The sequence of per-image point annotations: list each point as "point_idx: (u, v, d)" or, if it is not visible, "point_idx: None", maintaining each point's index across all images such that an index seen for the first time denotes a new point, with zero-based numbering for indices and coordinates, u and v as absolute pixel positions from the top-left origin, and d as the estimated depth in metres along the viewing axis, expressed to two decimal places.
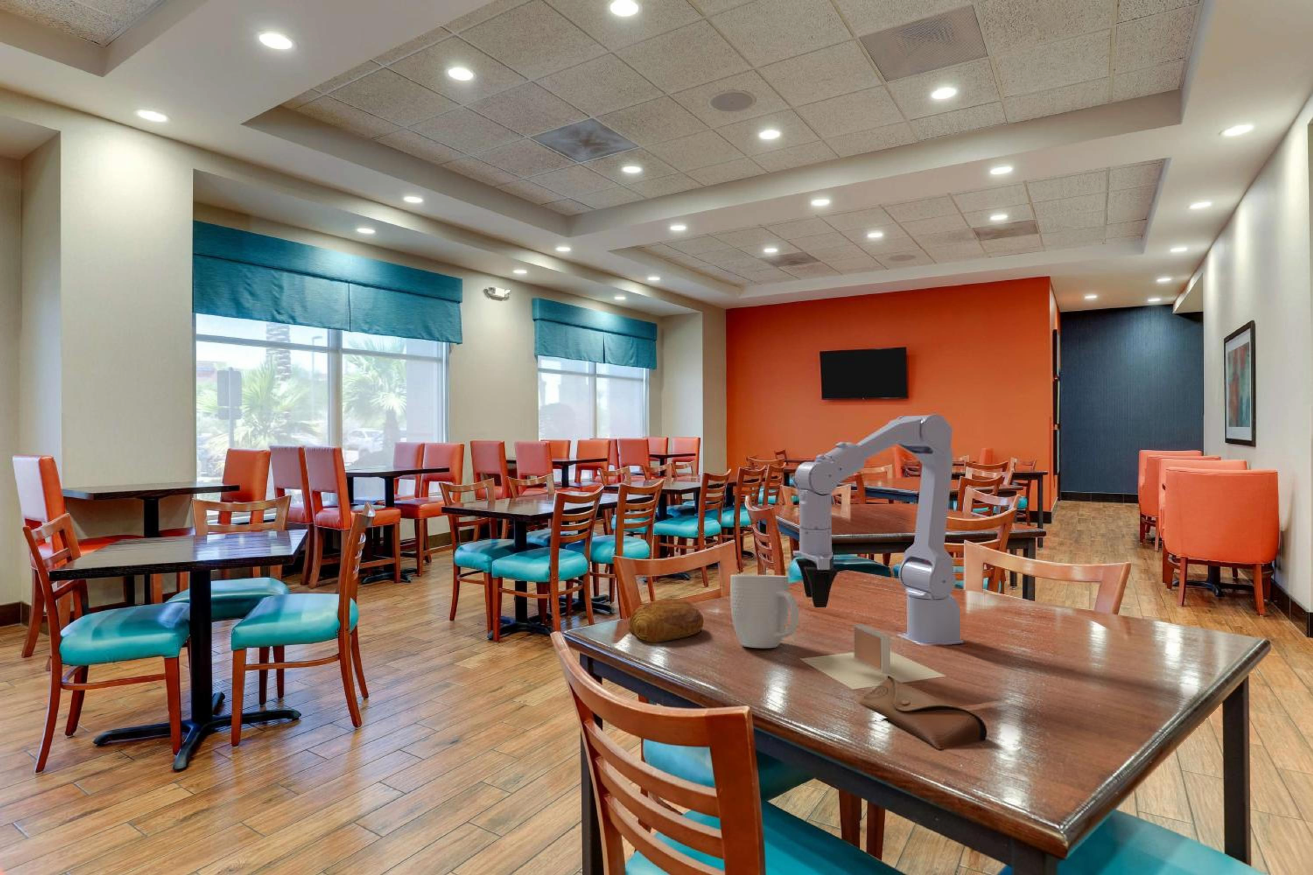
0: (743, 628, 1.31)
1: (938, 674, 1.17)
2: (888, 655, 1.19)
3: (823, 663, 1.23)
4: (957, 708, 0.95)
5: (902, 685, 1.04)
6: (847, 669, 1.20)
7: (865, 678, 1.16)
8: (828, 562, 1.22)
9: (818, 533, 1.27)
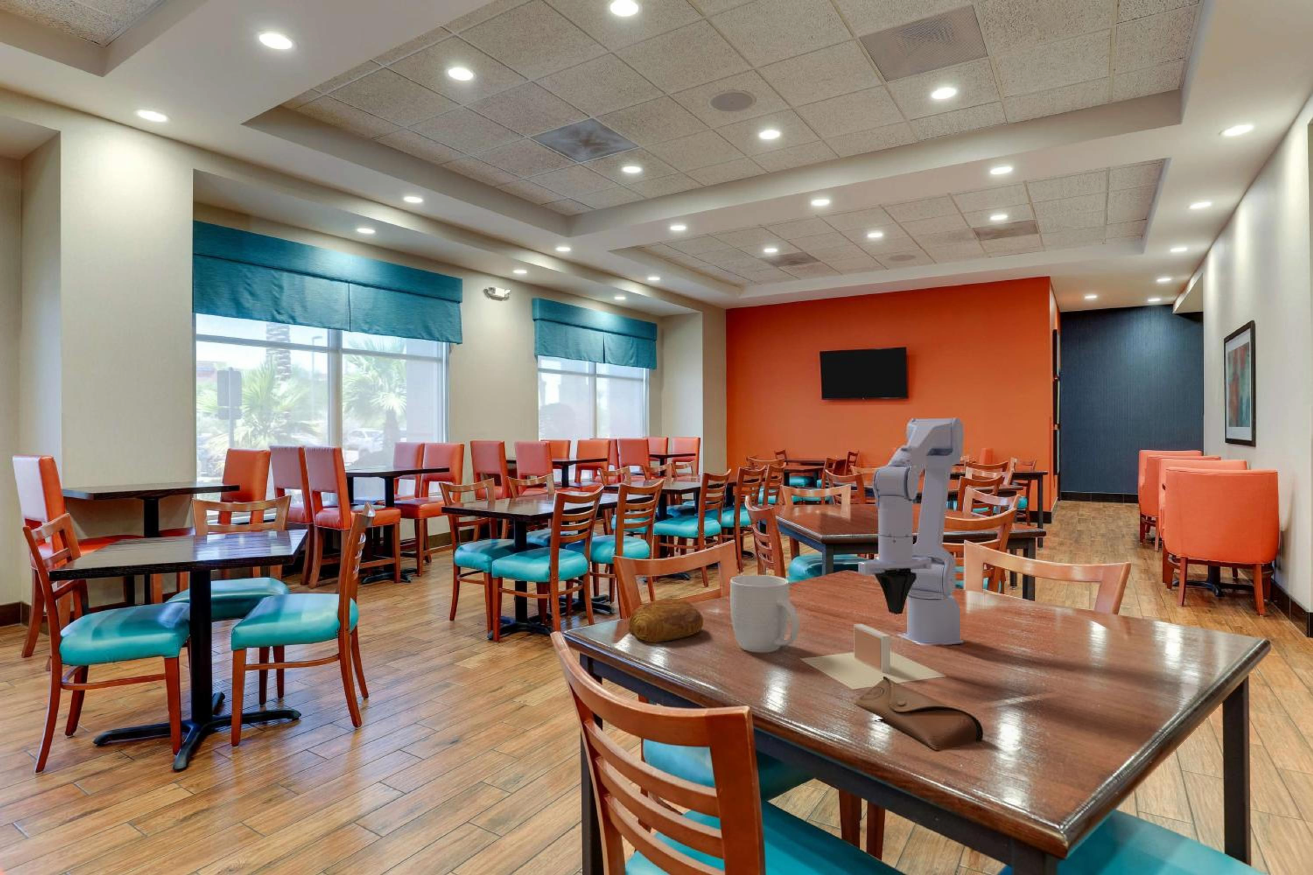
0: (743, 636, 1.30)
1: (938, 674, 1.17)
2: (888, 655, 1.19)
3: (823, 663, 1.23)
4: (953, 709, 0.95)
5: (898, 686, 1.04)
6: (847, 669, 1.20)
7: (865, 678, 1.16)
8: (865, 567, 1.20)
9: (882, 539, 1.23)
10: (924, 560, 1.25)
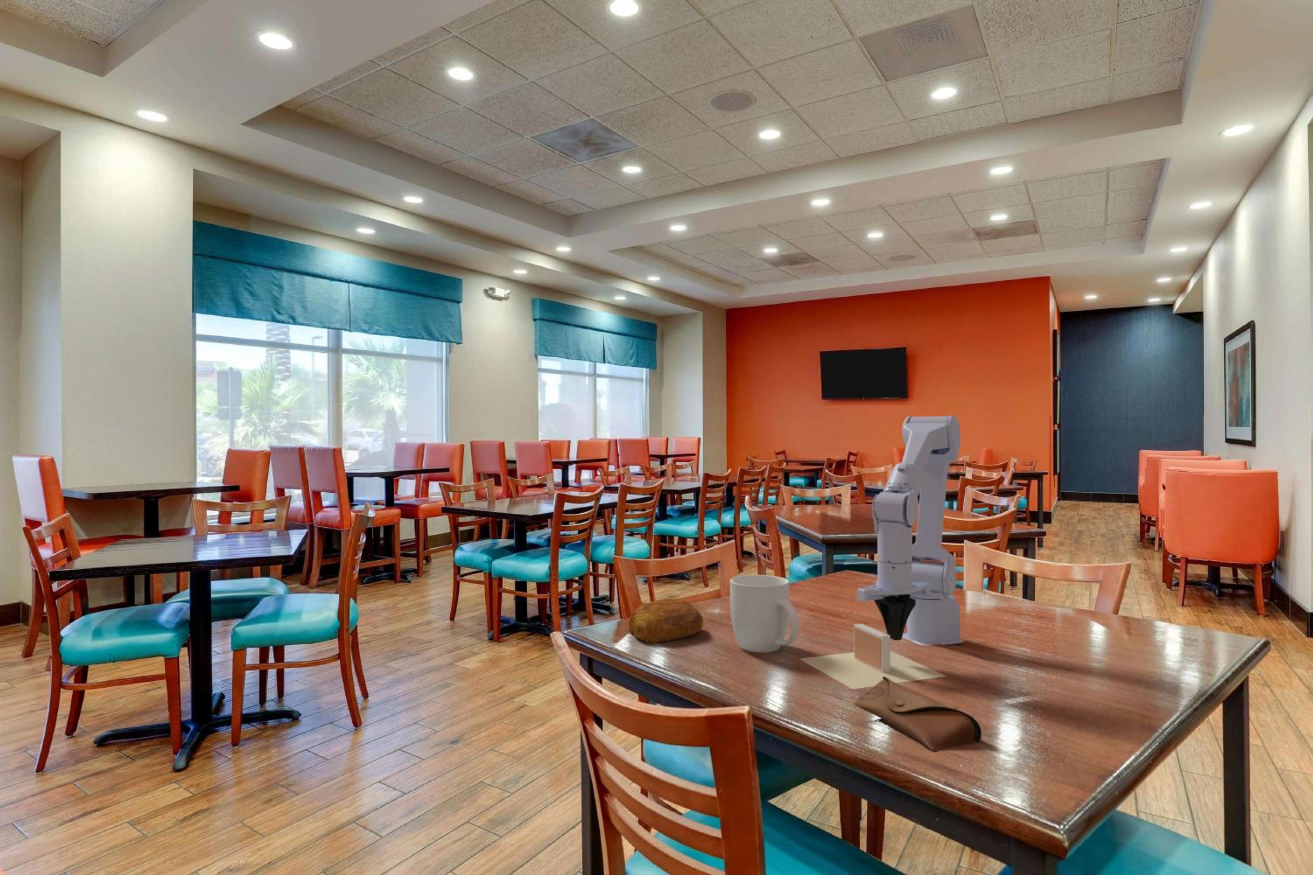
0: (743, 636, 1.30)
1: (938, 674, 1.17)
2: (888, 655, 1.19)
3: (823, 663, 1.23)
4: (951, 709, 0.95)
5: (897, 686, 1.04)
6: (847, 669, 1.20)
7: (865, 678, 1.16)
8: (864, 594, 1.20)
9: (881, 565, 1.23)
10: (923, 586, 1.25)
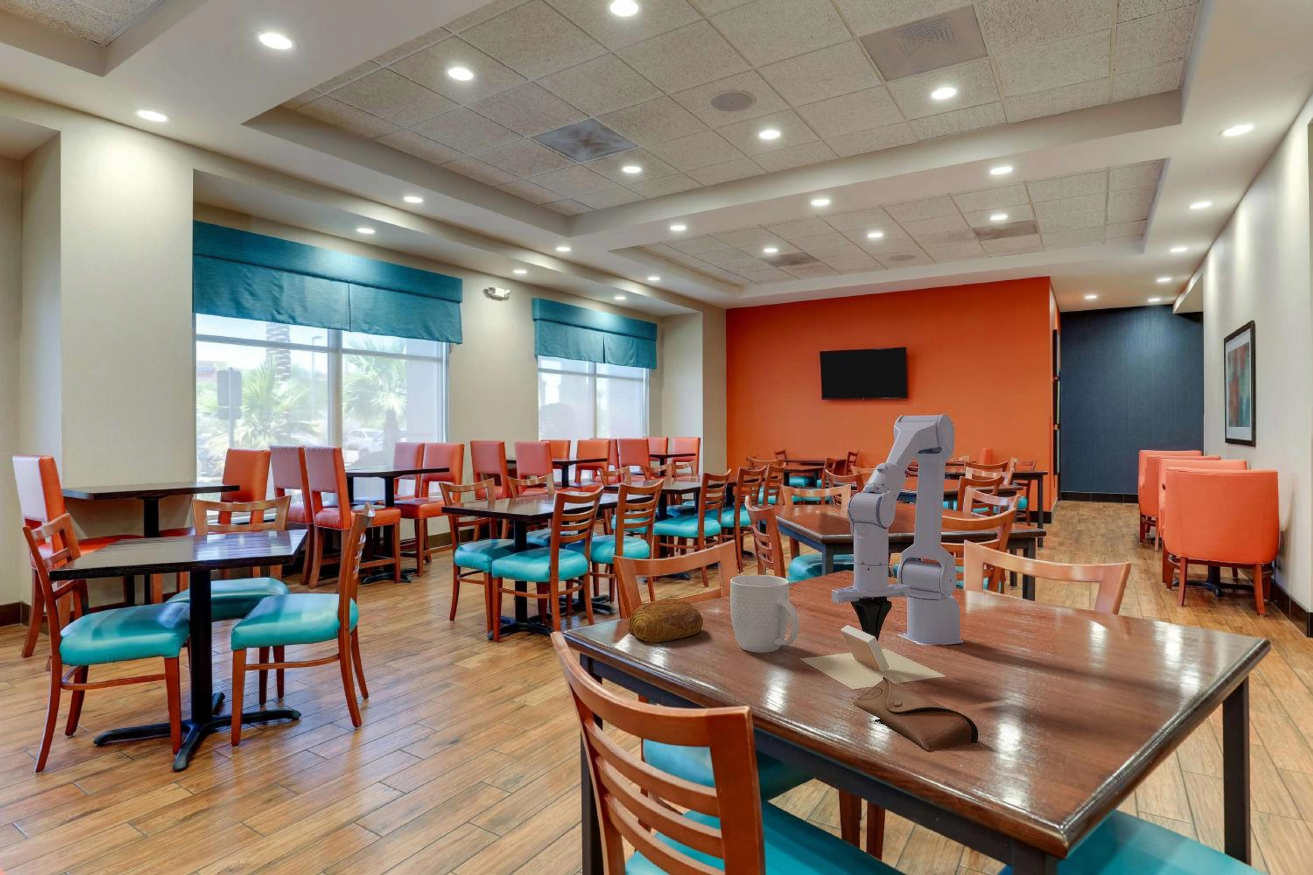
0: (743, 636, 1.30)
1: (938, 674, 1.17)
2: (881, 654, 1.18)
3: (823, 663, 1.23)
4: (948, 710, 0.95)
5: (896, 686, 1.03)
6: (847, 669, 1.20)
7: (865, 678, 1.16)
8: (837, 596, 1.19)
9: (857, 567, 1.21)
10: (901, 588, 1.23)
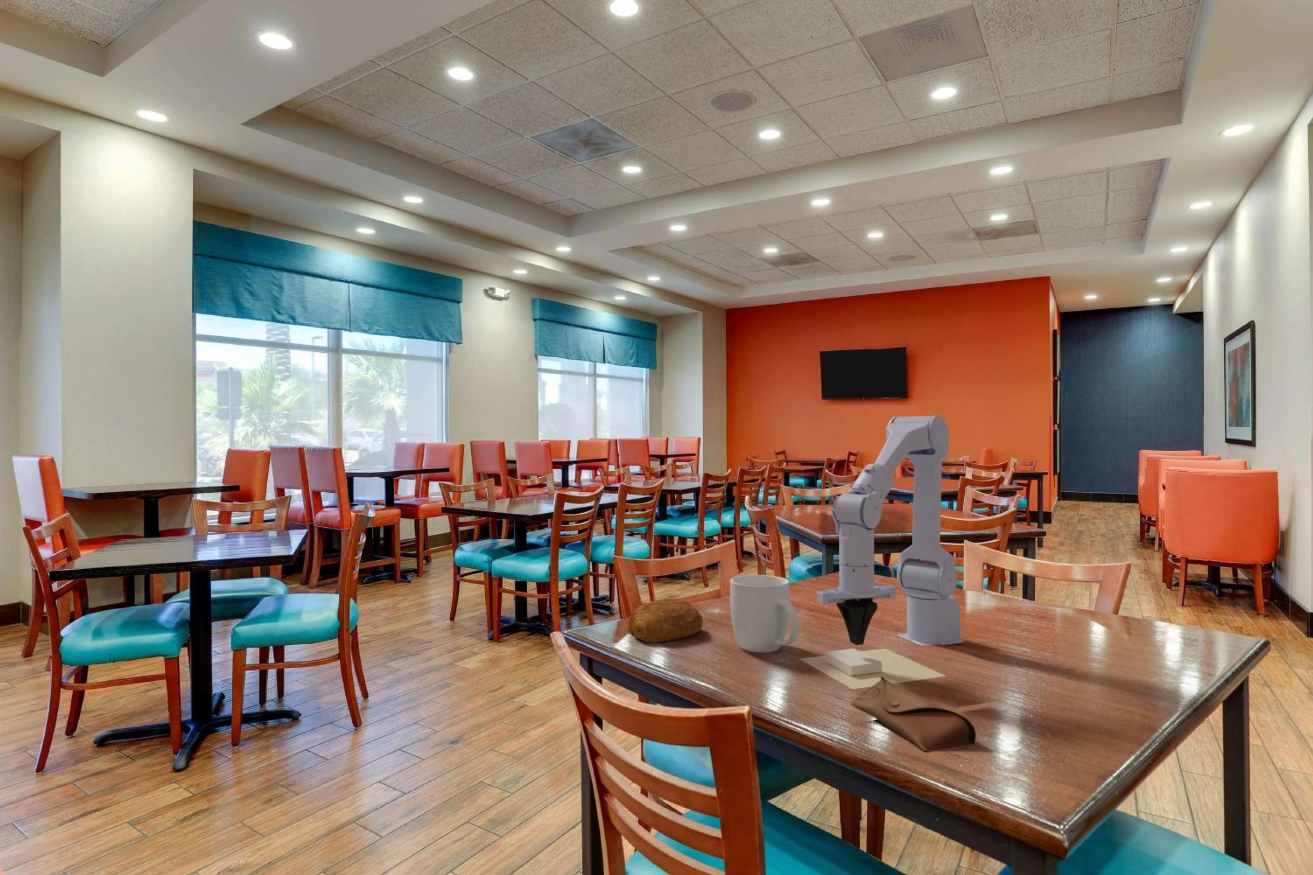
0: (743, 636, 1.30)
1: (938, 674, 1.17)
2: (868, 665, 1.17)
3: (823, 663, 1.23)
4: (946, 710, 0.94)
5: (894, 686, 1.03)
6: None
7: (865, 678, 1.16)
8: (822, 597, 1.18)
9: (842, 568, 1.20)
10: (887, 590, 1.22)
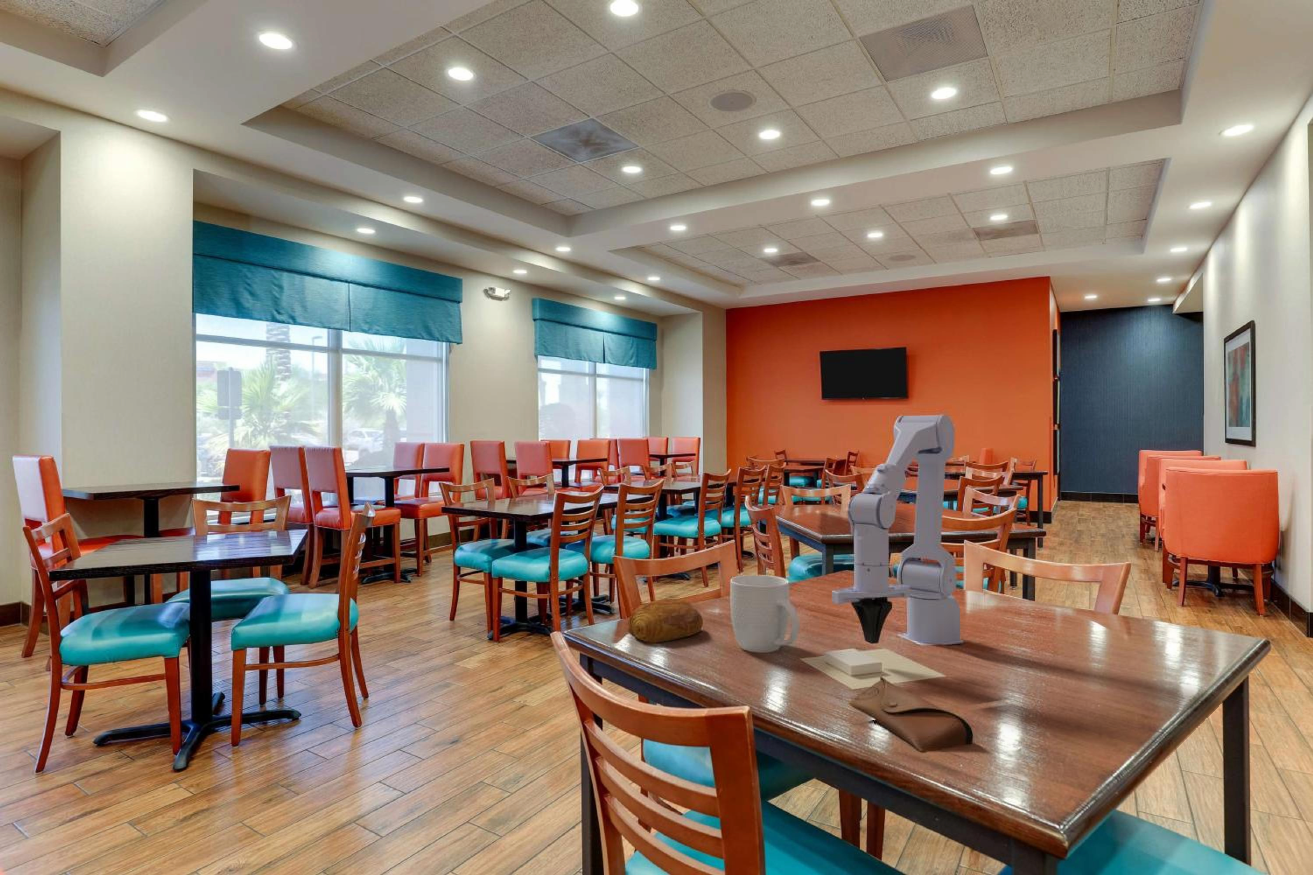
0: (743, 636, 1.30)
1: (938, 674, 1.17)
2: (868, 665, 1.17)
3: (823, 663, 1.23)
4: (943, 711, 0.94)
5: (892, 687, 1.03)
6: None
7: (865, 678, 1.16)
8: (837, 596, 1.19)
9: (857, 568, 1.21)
10: (901, 589, 1.23)
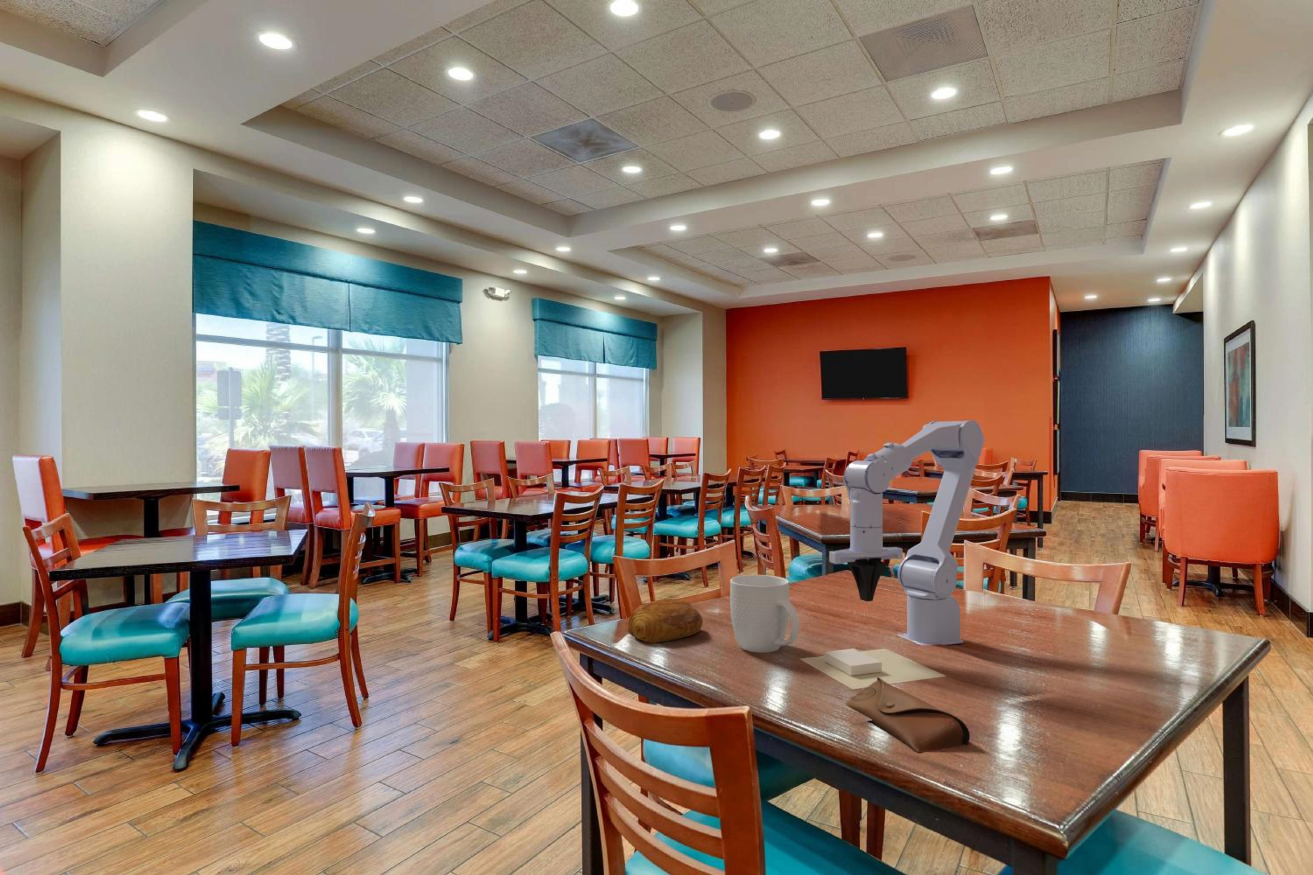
0: (743, 636, 1.30)
1: (938, 674, 1.17)
2: (868, 665, 1.17)
3: (823, 663, 1.23)
4: (940, 711, 0.94)
5: (889, 687, 1.03)
6: None
7: (865, 678, 1.16)
8: (834, 556, 1.27)
9: (853, 530, 1.29)
10: (895, 550, 1.31)
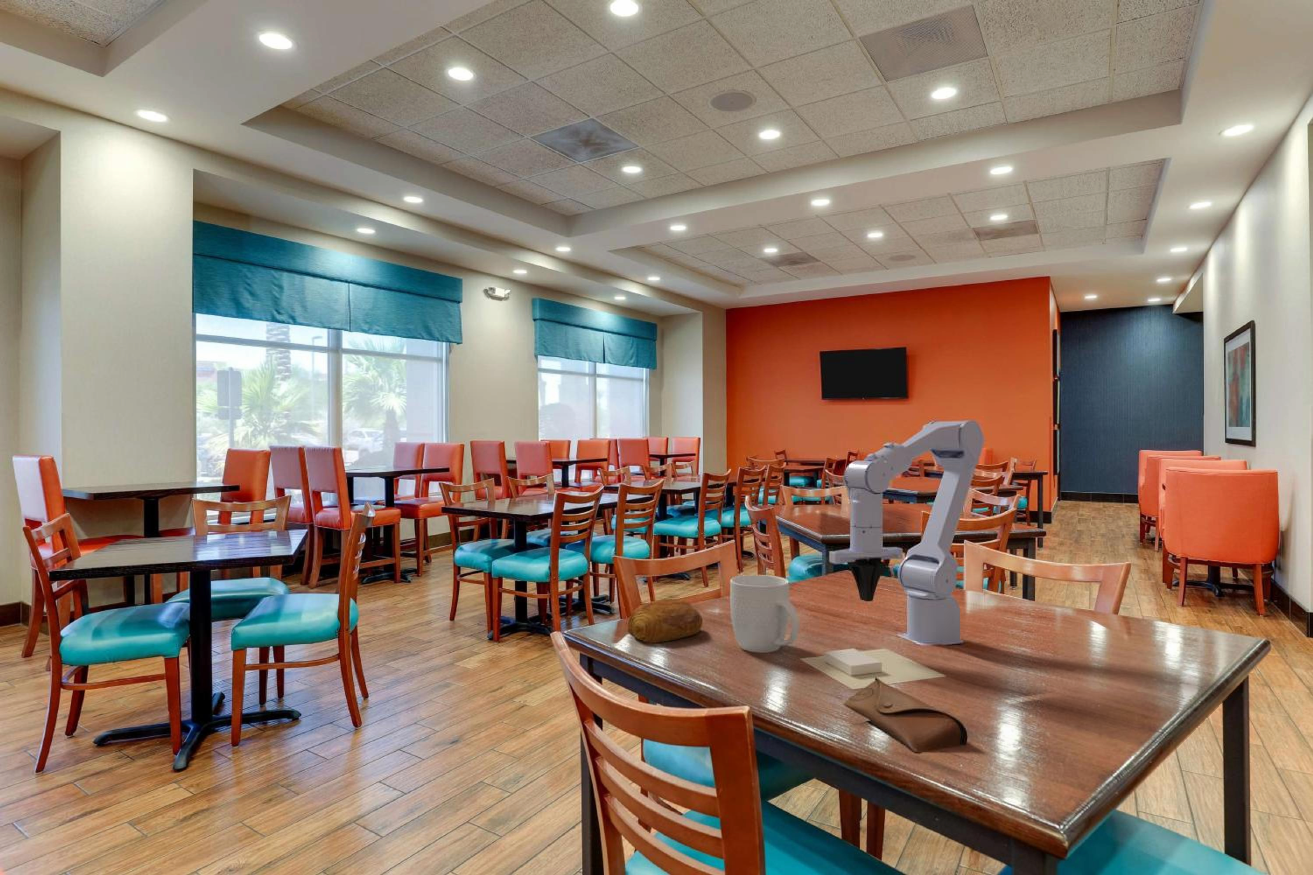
0: (743, 636, 1.30)
1: (938, 674, 1.17)
2: (868, 665, 1.17)
3: (823, 663, 1.23)
4: (938, 711, 0.94)
5: (887, 687, 1.03)
6: None
7: (865, 678, 1.16)
8: (834, 556, 1.27)
9: (853, 530, 1.29)
10: (895, 550, 1.31)
